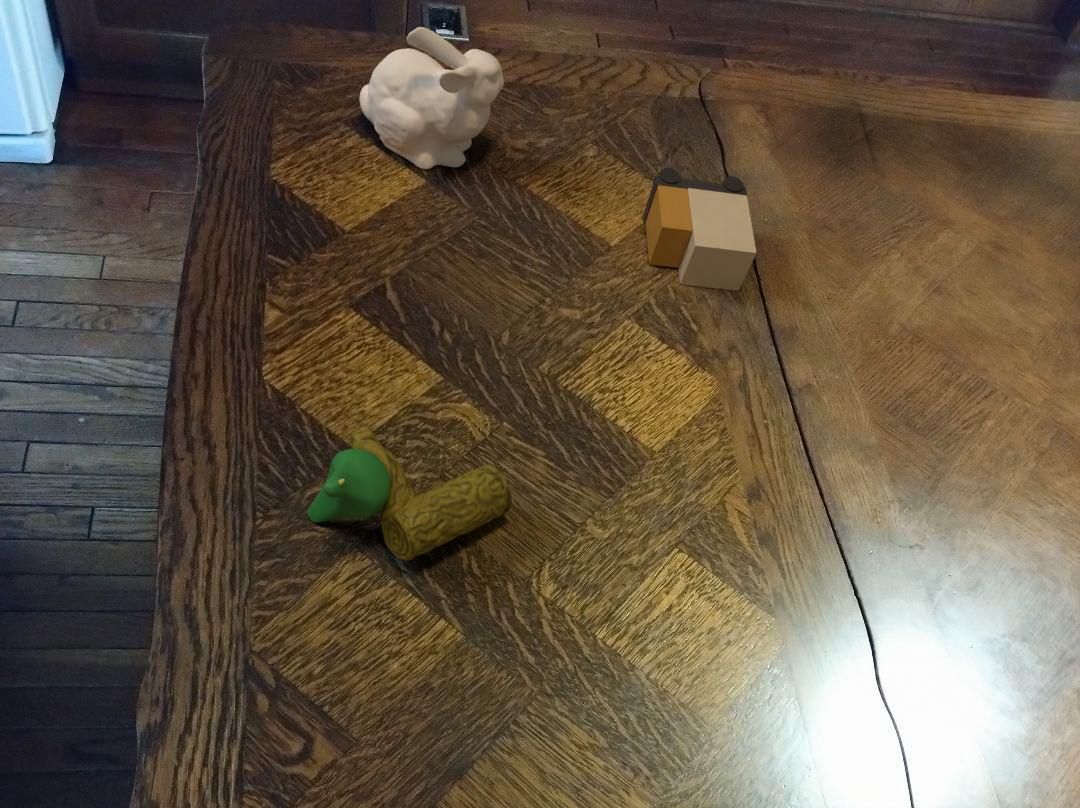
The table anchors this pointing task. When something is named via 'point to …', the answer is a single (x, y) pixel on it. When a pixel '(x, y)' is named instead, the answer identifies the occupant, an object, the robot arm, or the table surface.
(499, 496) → the bird figurine
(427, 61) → the rabbit
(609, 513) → the table surface
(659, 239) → the cream truck
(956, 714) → the table surface
